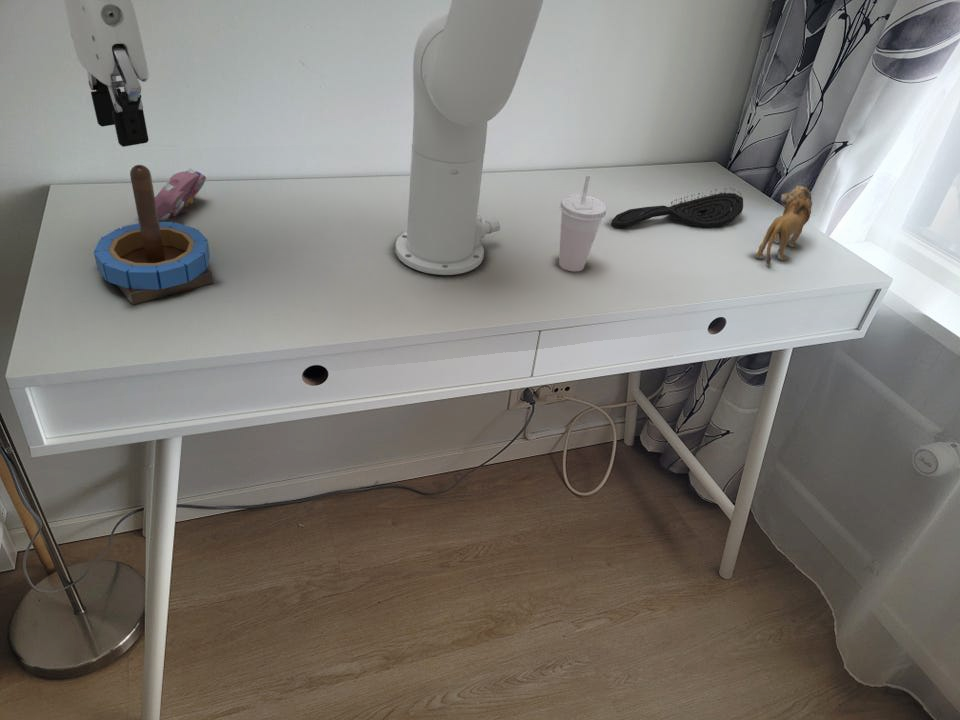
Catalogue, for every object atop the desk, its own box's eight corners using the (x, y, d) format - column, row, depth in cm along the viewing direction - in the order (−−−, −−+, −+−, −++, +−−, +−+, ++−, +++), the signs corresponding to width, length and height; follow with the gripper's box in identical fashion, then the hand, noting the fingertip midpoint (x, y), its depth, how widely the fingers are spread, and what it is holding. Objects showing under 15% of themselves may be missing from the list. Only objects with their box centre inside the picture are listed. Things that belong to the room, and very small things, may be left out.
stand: (181, 249, 100) (165, 143, 91) (213, 283, 94) (199, 174, 86) (103, 267, 95) (78, 157, 86) (132, 305, 89) (108, 190, 80)
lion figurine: (769, 228, 126) (788, 178, 120) (801, 238, 124) (821, 187, 118) (750, 262, 115) (770, 209, 109) (785, 274, 113) (807, 220, 108)
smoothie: (541, 265, 107) (557, 173, 99) (562, 249, 112) (580, 160, 103) (580, 281, 105) (600, 188, 96) (600, 264, 109) (621, 174, 101)
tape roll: (185, 230, 101) (182, 213, 100) (225, 272, 94) (223, 256, 92) (85, 252, 94) (80, 235, 93) (120, 300, 87) (116, 282, 85)
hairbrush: (602, 199, 121) (726, 180, 129) (598, 219, 123) (720, 200, 132) (629, 222, 115) (757, 202, 124) (624, 243, 117) (751, 222, 126)
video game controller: (166, 235, 106) (180, 198, 102) (136, 216, 105) (150, 179, 101) (200, 206, 113) (215, 171, 109) (173, 189, 113) (188, 153, 109)
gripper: (157, -20, 74) (184, 153, 85) (97, -54, 84) (129, 106, 95) (76, -16, 70) (116, 166, 81) (24, -51, 80) (66, 115, 91)
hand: (123, 132), depth 88 cm, fingers open, 6 cm apart
